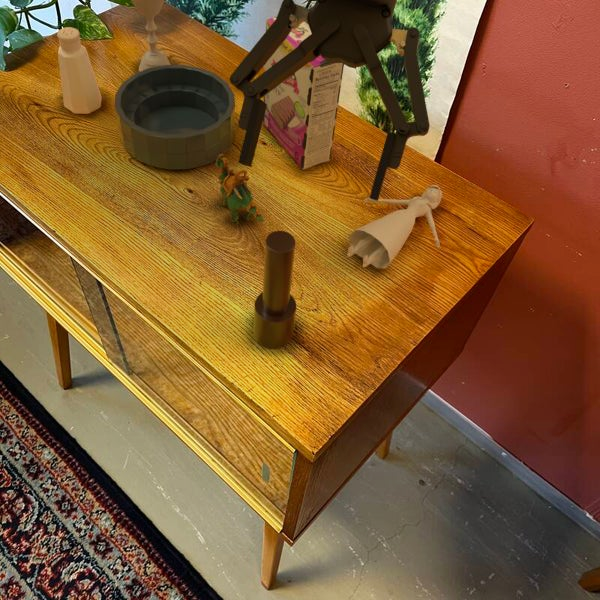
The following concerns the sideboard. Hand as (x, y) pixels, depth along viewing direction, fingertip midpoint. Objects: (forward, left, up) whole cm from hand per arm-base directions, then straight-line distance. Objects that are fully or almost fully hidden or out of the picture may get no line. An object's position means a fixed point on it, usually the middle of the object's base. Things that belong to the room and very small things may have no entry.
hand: (308, 182), depth 67 cm
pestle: (-1, -9, -15) cm, 17 cm away
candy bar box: (-5, +23, -15) cm, 28 cm away
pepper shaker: (-36, +23, -15) cm, 46 cm away
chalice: (-29, +34, -15) cm, 48 cm away
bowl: (-21, +20, -15) cm, 33 cm away
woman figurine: (+11, +10, -15) cm, 21 cm away
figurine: (-9, +7, -15) cm, 19 cm away
